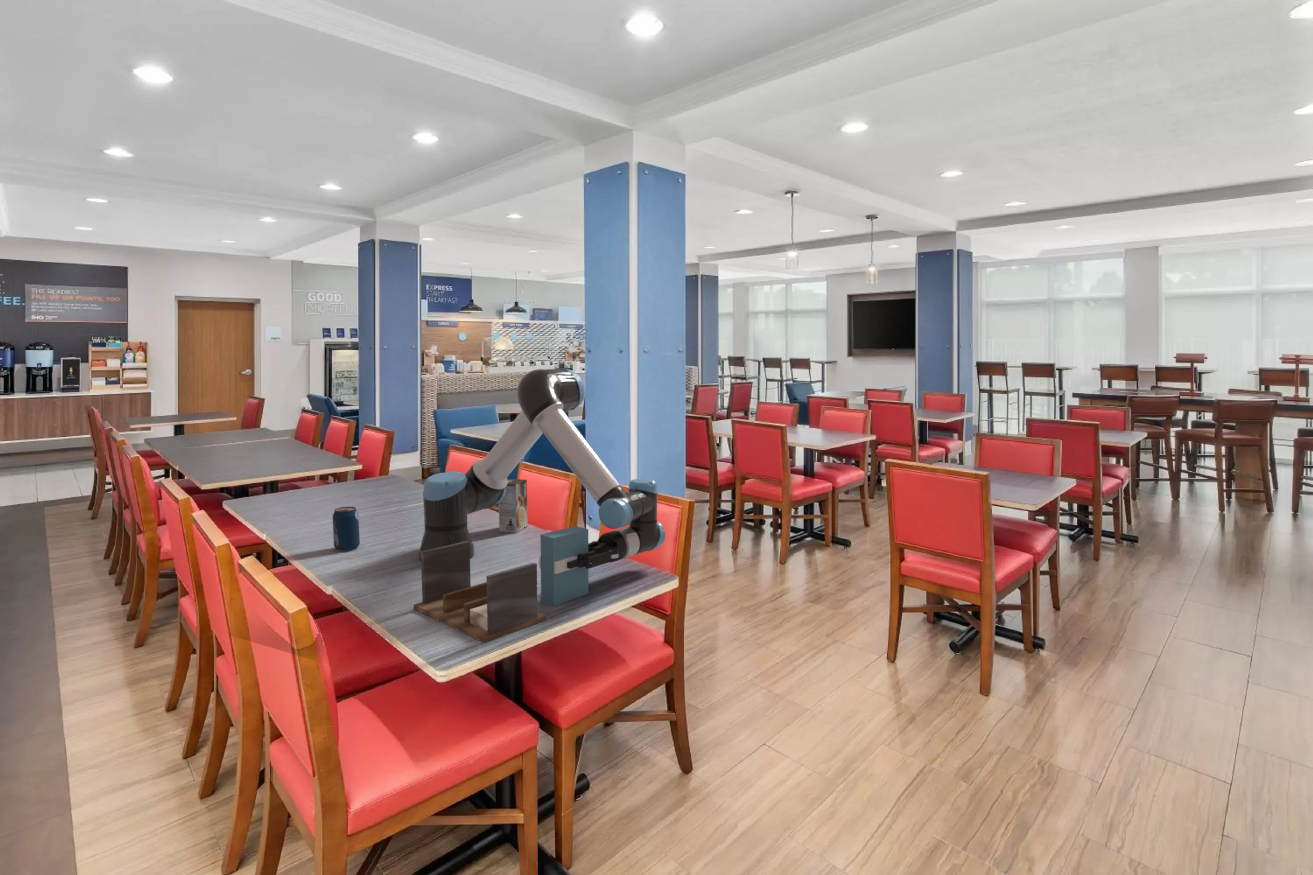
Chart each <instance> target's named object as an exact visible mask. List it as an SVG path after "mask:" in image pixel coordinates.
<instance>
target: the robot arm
mask: <svg viewBox="0 0 1313 875" xmlns="http://www.w3.org/2000/svg"><path fill="white" fill-rule="evenodd" d="M585 393H586V391H585V384H584V382H583V380H582V377H581V376H580V375H579V374H578V373H576V371H573V370H571V369H567V368H563V367H562V368H561V367H559V368H548V369H543V368H542V369H541V368H539V369H534V370H530V371H529V372H528V373H525V375H524V376H522V378H521V380H520V382H519V383H518V386H517V393H516V394H517V401H518V404H519V407H520V409H521V411H520V413H518V415H517V416H516V418H515V419H514V420H513V421H512V423H511V424H510V425H509V427H508V428H507V429H506V430H505V432H504V433H503V434H502V435H501V437H500V438H499V439H498V440H497V442H496V443H495V444H494V445H493V447H492V449H490V451H489V452H488V453H487V455H486V456H485V457H484V458H483V459H478V460H476V461H475V462H473V464H472V465H471V466H470V467H469V469H468V471H467V472H465V473H464V472H461V471H446V472H445V471H444V472H439V473H435V474H433V475H431V476H429V477H427V478H426V479H425V481H424V483H423V491H422V496H423V518H424V532H423V535H422V539H421V544H420V546H419V549H418V559H419V560H420V561H421V551H426V550H430V549H434V548H439V547H443V546H447V545H452V544H456V543H460V542H465V541H468V542H470V559H471V558H472V557H473V558H474V556H475V545H474V543H473V542H472V537H471V534H470V531H469V529H468V528H469V527H468V515H469V514H472V513H476V512H480V511H482V510H487V509H491V508H492V507H495V506H496V505H499V502H500V501H501V500H502V499H503V497H504V495H505V492H506V489H505V487H506V486H507V483H508V477H509V476H510V474H511V473H512V472H513V471H514V469H515V468H516V467H517V465H518V464H520V462H521V461H522V459H523V458H524V457H525V456H526V454H528V452H529V451H530V449H531V448H532V447H533V446H534V444H536V442H537V441H538V440H539V439H540V438H541V436H542V435H543V434H544V436H545V437H546V439H547V440H548V441H549V443H551V445H552V447H553V448H554V449H555V451H556V452H557V453H558V455H559V456H561V458H562V460H563V461H564V462H565V463H566V465H567V466H568V467H569V469H570V470H571V471H572V472H573V475H575V477H576V478H577V479H578V481H579V482H580V483H581V484H582V485H583V487H584V488H585V490H586V491H587V492H588V494H589V495H590V496H591V497H592V499H593V500H594V502H595V503H596V504H597V506H598V507H599V508H598V518H599V520H600V523H602V524H601V525H603V526H605V527H606V528H608V529H612V531H609V532H605V533H603V534H600V536H599V538H598V539H597V540H593V541H591V542H588V553H585V554H578V559H577V556H572V557H569V558H566V559H562V560H559V561H555V562H554V573H555V574H558V573H561V572H564V571H567V570H571V569H574V568H577V567H580V568H582V567H584V566H585V568H587V569H588V570H589V569H592V568H596V567H598V566H602V565H605V564H609V563H614V562H618V561H620V560H623V559H624V560H627V559H628V557H632V556H635V555H638V554H642V553H646V552H650V551H653V550H655V549H657V548H659V547H660V546H662V545H663V544H664V543H665V540H666V531H665V528H664V526H663V524H662V523H661V522H660V521H659V520H658V496H659V493H658V484H657V482H656V480H654V479H650V478H634V479H632V480H630V481H629V484H628V491H627V492H626V491H625V489H624V488H623V487H622V485H621V484H620V483H619V482H618V481H617V478H615V476H614V475H613V474H612V473H611V471H610V470H609V469H608V468H607V466H606V465H605V463H604V462H603V460H602V459H601V458H600V457H599V455H598V454H597V453H596V452H595V450H594V449H593V447H592V446H591V445H590V444H589V442H588V441H587V440H586V439H585V437H584V436H583V434H582V433H581V431H579V429H578V428H577V427H576V426H575V424H574V423H573V421H572V420H571V418H569V417H568V415H567V413H568V412H569V411H573V410H575V409H576V408H578V407H579V406H580V405H581V404H582V403H583V401H584V399H585V395H586V394H585ZM626 526H627V527H626ZM538 568H539V569H540V570H541V556H539V557H538Z"/></svg>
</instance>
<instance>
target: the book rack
mask: <svg viewBox="0 0 1313 875" xmlns="http://www.w3.org/2000/svg"><path fill="white" fill-rule="evenodd" d="M420 561H421V562H420V564H421V565H420V567H421V568H420V569H421V596H422V597H421V598H422V599H421V600H422V601H421V602H418V603H415V604H413V609H414V608H415V609H417V610H419V611H421V612H423V613H425V614H427V615H426V616H428V615H429V616H428V617H430V616H431V617H430V618H432V617H433V618H432V619H434V618H436V619H438V620H439V621H438V620H437V621H438V622H440V621H441V622H440V623H442V622H444V623H446V624H447V625H446V624H445V625H446V626H448V625H450V626H449V627H451V626H452V627H451V628H453V627H454V628H453V629H455V630H457V629H458V630H457V631H459V630H460V631H459V632H461V631H462V632H461V633H463V632H464V633H463V634H465V633H466V634H465V635H467V634H468V636H469V635H470V637H471V636H473V637H475V638H474V639H475V640H478V639H479V640H478V641H480V642H481V643H482V642H483V643H486V642H490V641H493V640H494V639H497V638H500V636H501V637H503V636H505V634H506V635H508V633H509V634H511V633H514V632H517V631H519V629H520V630H523V629H525V628H528V627H531V626H532V625H536V624H538V623H541V622H544V621H546V620H547V616H546V614H543V613H541V612H539V611H538V564H537V563H536V562H530V563H528V564H523V565H520V566H517V567H513V568H510V569H505V570H502V571H499V572H496V573H493V574H492V573H491V574H488V575H486V581H485V582H481V583H478V584H474V585H472V584H471V558H470V542H468V541H465V542H460V543H456V544H452V545H447V546H443V547H439V548H434V549H430V550H426V551H421V560H420ZM415 609H414V610H415ZM417 610H416V611H417ZM419 611H418V612H419ZM421 612H420V613H421ZM423 613H422V614H423ZM425 614H424V615H425ZM436 619H435V620H436ZM444 623H443V624H444ZM516 630H517V631H516ZM473 637H472V638H473Z"/></svg>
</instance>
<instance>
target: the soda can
mask: <svg viewBox="0 0 1313 875" xmlns="http://www.w3.org/2000/svg"><path fill="white" fill-rule="evenodd" d="M359 517H360V516H359V512H358V511H357V508H356V507H354V506H341V507H336V508H335V509H334V512H333V514H332V527H333V528H332V531H333V532H332V533H333V547H334V549H336V551H338V552H351V551H355V550H358V548H359V546H360V545H361V540H360V538H361V537H360V521H359Z"/></svg>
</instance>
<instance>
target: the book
mask: <svg viewBox="0 0 1313 875" xmlns="http://www.w3.org/2000/svg"><path fill="white" fill-rule="evenodd" d="M539 538H540V557H541V569H540V601H541V602H543V603H546V604H548V605H551V606H554V607H555V606H556V605H560V604H562V603H565V602H568V601H570V600H573V599H577V598H579V597H583V596H584V595H588V594H589V569H587V568H585V566H584V567H582V568H580V567H577V568H574V569H571V570H567V571H564V572H561V573H558V574H555V573H554V562H555V561H559V560H562V559H566V558H569V557H572V556H577V559H578V554H585V553H588V543H589V529H588V528H586V527H585V528H584V527H581V526H577V525H575V526H571V527H567V528H566V527H565V528H561V529H558V530H554V531H549V532H545V533H541V534H540V537H539Z"/></svg>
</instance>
